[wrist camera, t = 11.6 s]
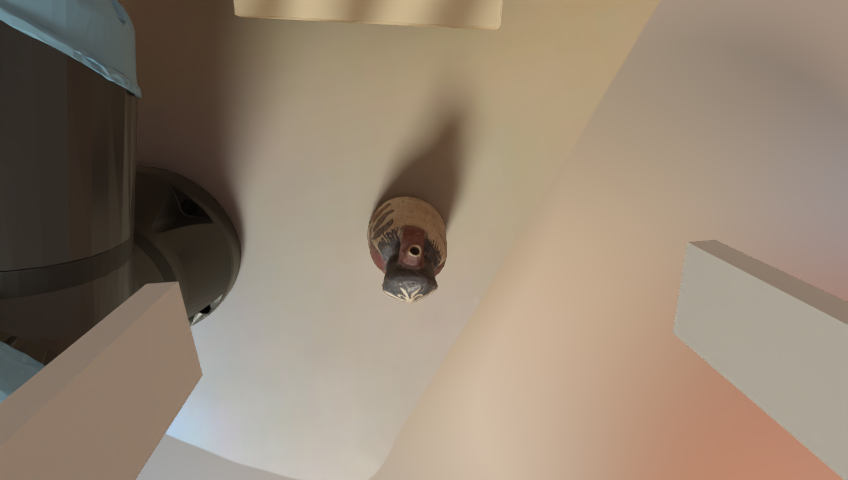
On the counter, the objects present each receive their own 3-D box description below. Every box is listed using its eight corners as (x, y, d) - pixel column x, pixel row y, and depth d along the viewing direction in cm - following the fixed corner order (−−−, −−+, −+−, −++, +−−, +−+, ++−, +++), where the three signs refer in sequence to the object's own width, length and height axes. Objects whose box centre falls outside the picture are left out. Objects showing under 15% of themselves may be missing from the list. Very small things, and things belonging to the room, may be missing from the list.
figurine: (361, 257, 42) (350, 319, 31) (376, 186, 40) (370, 225, 29) (433, 271, 43) (448, 337, 32) (451, 203, 41) (474, 247, 30)
